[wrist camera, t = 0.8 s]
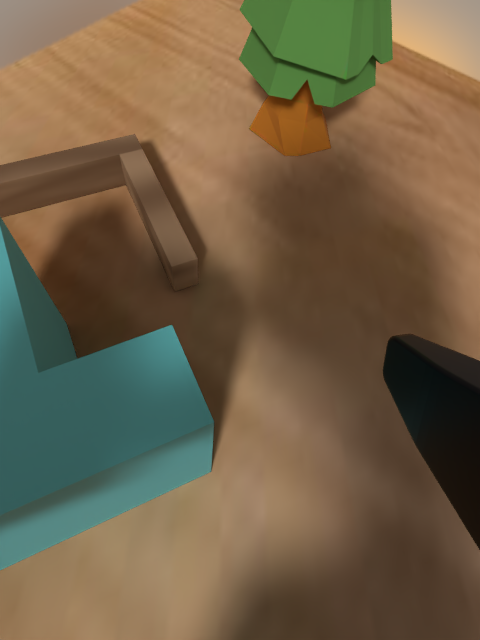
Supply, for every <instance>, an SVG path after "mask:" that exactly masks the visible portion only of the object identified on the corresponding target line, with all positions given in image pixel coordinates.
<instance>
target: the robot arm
mask: <svg viewBox="0 0 480 640" xmlns="http://www.w3.org/2000/svg"><path fill="white" fill-rule="evenodd" d="M383 376H384V380H385V382H386V384H387V387H388V389H389V391H390V393H391V395H392V397H393V399H394V401H395V403H396V406H397V408H398V410H399V412H400V414H401V416H402V418H403V420H404V422H405V425H406V427H407V429H408V431H409V433H410V435H411V437H412V439H413V441H414V443H415V445H416V446H417V448H418V450H419V452H420V453H421V455H422V457H423V458H424V460H425V462H426V463H427V465H428V466H429V468H430V470H431V471H432V473H433V475H434V476H435V478H436V479H437V481H438V483H439V484H440V486H441V488H442V489H443V491H444V493H445V494H446V496H447V497H448V499H449V501H450V502H451V504H452V506H453V507H454V509H455V510H456V512H457V514H458V515H459V517H460V519H461V520H462V522H463V524H464V525H465V527H466V528H467V530H468V532H469V533H470V535H471V537H472V538H473V540H474V541H475V543H476V545H477V546H478V548H479V550H480V361H479V360H476V359H474V358H471V357H468V356H466V355H463V354H461V353H458V352H456V351H453V350H451V349H448V348H446V347H443V346H441V345H438V344H436V343H433V342H430V341H428V340H425V339H423V338H420V337H418V336H415V335H413V334H404V335H397V336H392V337H391V338H390V339H389V341H388V344H387V349H386V355H385V360H384V366H383Z"/></svg>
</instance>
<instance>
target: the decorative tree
mask: <svg viewBox="0 0 480 640" xmlns="http://www.w3.org/2000/svg"><path fill="white" fill-rule="evenodd" d="M240 11H241V12H242V14H243V15H244V16H245V18H246V19H247V20H248V22H249V23H250V25H251V26H252V30H251V32H250V34H249V37H248V39H247V42H246V44H245V46H244V49H243V51H242V54H241V56H240V58H239V60H240V61H241V62H242V63H243V65H244V66H245V67H246V68H247V70H248V71H249V72H250V73H251V74H252V76H253V77H254V78H255V79H256V81H257V82H258V83H259V84H260V85H261V87H262V88H263V89H264V90H265V91H266V93H267V94H268V95H269V96H268V97H267V99H266V100H265V101H264V103H263V105H262V106H261V108H260V110H259V112H258V114H257V115H256V117H255V119H254V121H253V123H252V125H251V126H250V128H249V129H250V130H251V131H253V132H254V133H255V134H257V135H258V136H259V137H261V138H262V139H263V140H264V141H266V142H267V143H268V144H270V145H271V146H272V147H274V148H275V149H276V150H278V151H279V152H280V153H282V154H283V155H284V156H301V155H305V154H309V153H313V152H317V151H321V150H325V149H329V148H331V145H330V140H329V135H328V129H327V124H326V119H325V116H324V114H323V112H322V106H327V107H332V108H333V107H335V106H337V105H339V104H341V103H342V102H344V101H346V100H348V99H350V98H352V97H354V96H356V95H358V94H360V93H362V92H363V91H365V90H367V89H369V88H371V87H373V86H375V72H376V61H377V62H379V63H380V64H383V63H386V62H388V61H390V60H392V59H393V56H392V20H391V0H244V2H243V4H242V6H241V8H240Z"/></svg>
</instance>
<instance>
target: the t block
mask: <svg viewBox="0 0 480 640" xmlns="http://www.w3.org/2000/svg"><path fill="white" fill-rule="evenodd" d="M213 433H214V420H213V418H212V416H211V413H210V411H209V409H208V407H207V404H206V402H205V400H204V397H203V395H202V393H201V390H200V388H199V386H198V384H197V381H196V379H195V377H194V374H193V372H192V370H191V367H190V365H189V363H188V360H187V358H186V356H185V354H184V351H183V349H182V347H181V344H180V342H179V340H178V337H177V335H176V333H175V331H174V328H173V326H172V325H170V326H167V327H164V328H161V329H159V330H156V331H153V332H150V333H147V334H145V335H142V336H139V337H136V338H134V339H131V340H128V341H125V342H123V343H120V344H117V345H114V346H111V347H109V348H106V349H103V350H100V351H98V352H95V353H92V354H89V355H87V356H84V357H81V358H78V359H77V356H76V353H75V349H74V346H73V343H72V340H71V337H70V333H69V330H68V327H67V324H66V322H65V320H64V319H63V317H62V316H61V314H60V312H59V311H58V309H57V308H56V306H55V304H54V303H53V301H52V299H51V298H50V296H49V295H48V293H47V291H46V290H45V288H44V287H43V285H42V283H41V282H40V280H39V278H38V277H37V275H36V274H35V272H34V270H33V269H32V267H31V266H30V264H29V262H28V261H27V259H26V257H25V256H24V254H23V253H22V251H21V249H20V248H19V246H18V245H17V243H16V241H15V240H14V238H13V236H12V235H11V233H10V232H9V230H8V228H7V227H6V225H5V224H4V222H3V220H2V219H1V217H0V570H2V569H4V568H6V567H8V566H11V565H13V564H15V563H17V562H19V561H21V560H23V559H25V558H28V557H30V556H32V555H34V554H36V553H38V552H40V551H43V550H45V549H47V548H49V547H51V546H53V545H55V544H58V543H60V542H62V541H64V540H66V539H68V538H70V537H73V536H75V535H77V534H79V533H81V532H83V531H85V530H87V529H90V528H92V527H94V526H96V525H98V524H100V523H102V522H105V521H107V520H109V519H111V518H113V517H115V516H117V515H120V514H122V513H124V512H126V511H128V510H130V509H132V508H134V507H137V506H139V505H141V504H143V503H145V502H147V501H149V500H152V499H154V498H156V497H158V496H160V495H162V494H164V493H167V492H169V491H171V490H173V489H175V488H177V487H179V486H182V485H184V484H186V483H188V482H190V481H192V480H194V479H196V478H199V477H201V476H203V475H205V474H207V473H209V472H211V465H212V449H213Z"/></svg>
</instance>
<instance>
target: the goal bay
mask: <svg viewBox="0 0 480 640" xmlns="http://www.w3.org/2000/svg"><path fill="white" fill-rule="evenodd" d="M123 185H126V186H127V188H128V190H129V192H130V195H131V197H132V199H133V201H134V203H135V206H136V208H137V210H138V212H139V214H140V217H141V219H142V221H143V223H144V225H145V228H146V230H147V232H148V234H149V236H150V239H151V241H152V243H153V245H154V247H155V249H156V252H157V254H158V256H159V258H160V260H161V263H162V265H163V267H164V269H165V271H166V274H167V276H168V278H169V280H170V282H171V285H172V287H173V289H174V291H178V290H181V289H184V288H187V287H190V286H193V285H196V284H198V258H197V256H196V254H195V252H194V250H193V248H192V246H191V244H190V242H189V240H188V238H187V236H186V234H185V232H184V230H183V228H182V226H181V225H180V223H179V221H178V219H177V217H176V215H175V213H174V211H173V209H172V207H171V205H170V203H169V201H168V199H167V197H166V195H165V193H164V191H163V189H162V187H161V185H160V183H159V181H158V179H157V177H156V175H155V173H154V171H153V169H152V167H151V165H150V163H149V161H148V159H147V157H146V155H145V153H144V151H143V149H142V147H141V145H140V143H139V141H138V139H137V137H136V135H135V134H133V135H129V136H125V137H120V138H116V139H112V140H107V141H103V142H99V143H94V144H90V145H86V146H82V147H77V148H73V149H69V150H64V151H60V152H56V153H51V154H47V155H43V156H38V157H34V158H30V159H26V160H21V161H17V162H13V163H8V164H4V165H0V217H5V216H9V215H13V214H16V213H20V212H24V211H28V210H32V209H35V208H39V207H43V206H47V205H51V204H54V203H58V202H62V201H66V200H70V199H73V198H77V197H81V196H85V195H89V194H92V193H96V192H100V191H104V190H108V189H111V188H115V187H119V186H123Z"/></svg>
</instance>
